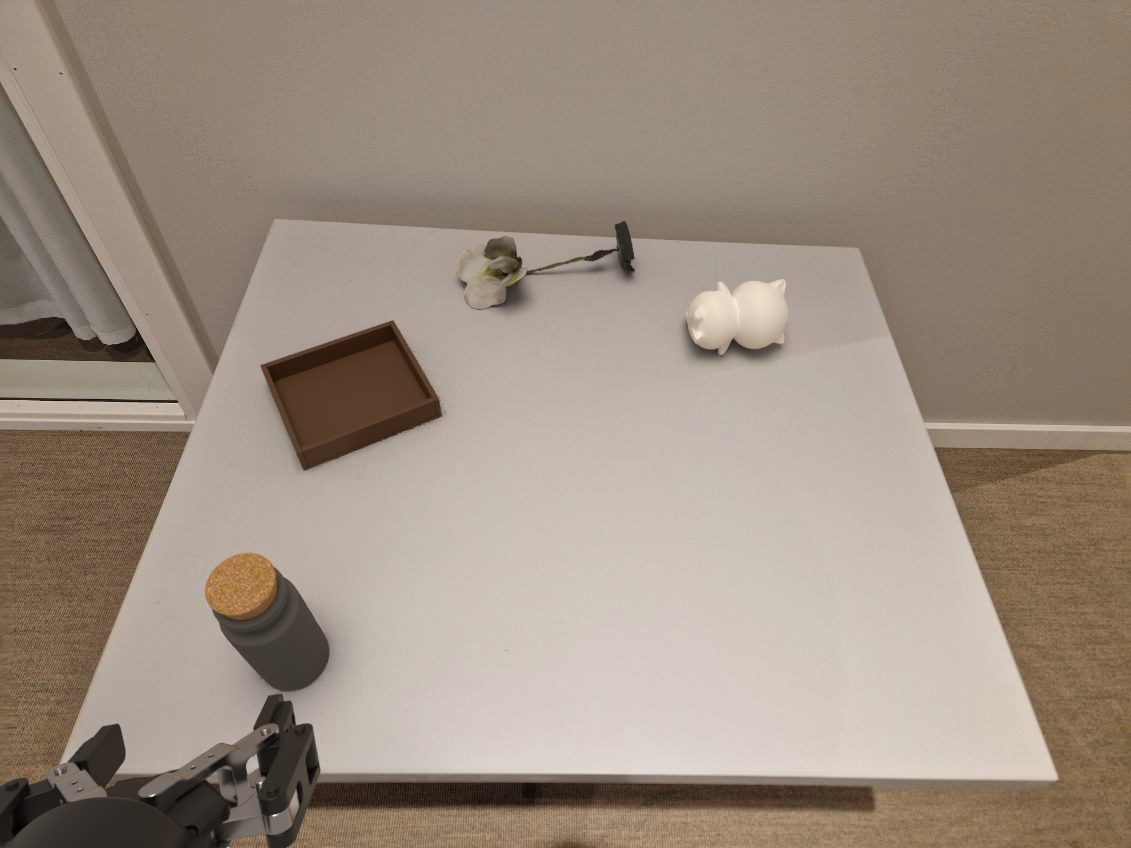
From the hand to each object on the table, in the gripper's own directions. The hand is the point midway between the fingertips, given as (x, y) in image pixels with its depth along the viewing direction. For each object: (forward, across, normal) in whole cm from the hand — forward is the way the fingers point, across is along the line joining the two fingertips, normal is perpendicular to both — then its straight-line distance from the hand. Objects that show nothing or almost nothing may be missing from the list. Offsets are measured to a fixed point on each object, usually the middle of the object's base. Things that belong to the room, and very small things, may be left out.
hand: (198, 724), depth 40 cm
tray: (+42, -6, -13) cm, 44 cm away
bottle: (+22, 0, +7) cm, 23 cm away
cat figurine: (+44, -50, -15) cm, 68 cm away
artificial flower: (+53, -30, -24) cm, 65 cm away
